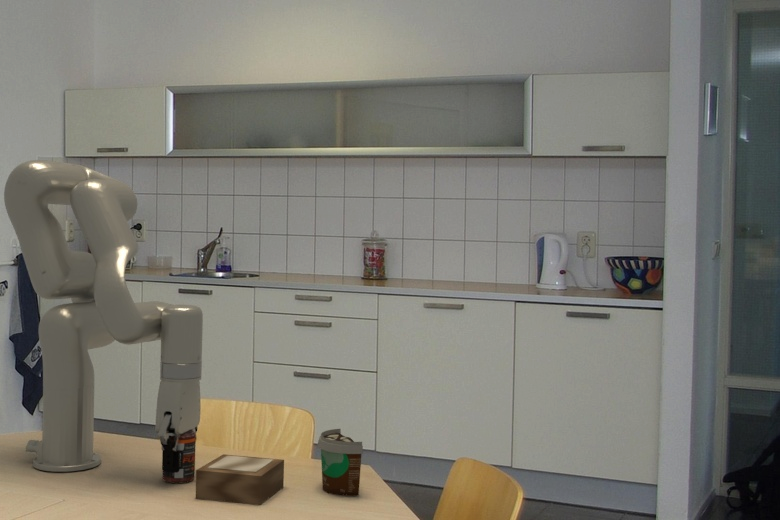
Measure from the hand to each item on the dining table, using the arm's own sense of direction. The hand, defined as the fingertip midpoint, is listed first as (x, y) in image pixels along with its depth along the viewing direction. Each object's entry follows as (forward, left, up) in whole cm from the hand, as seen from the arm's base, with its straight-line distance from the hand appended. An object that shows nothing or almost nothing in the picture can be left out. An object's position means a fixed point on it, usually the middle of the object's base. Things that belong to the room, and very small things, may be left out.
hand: (178, 466), depth 175 cm
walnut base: (+14, -4, -3) cm, 15 cm away
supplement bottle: (0, 0, -3) cm, 3 cm away
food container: (+29, +3, -3) cm, 30 cm away
